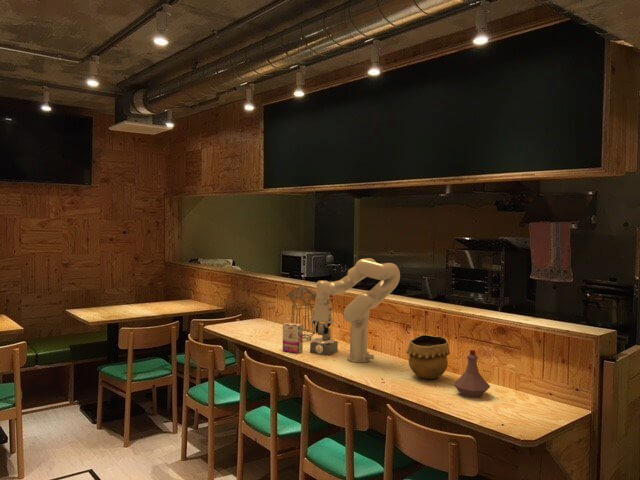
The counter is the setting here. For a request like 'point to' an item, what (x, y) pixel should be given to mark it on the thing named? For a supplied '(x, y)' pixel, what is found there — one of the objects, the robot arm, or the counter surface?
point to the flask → (472, 379)
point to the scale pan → (323, 341)
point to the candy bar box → (293, 338)
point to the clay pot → (428, 356)
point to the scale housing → (323, 348)
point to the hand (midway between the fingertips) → (321, 332)
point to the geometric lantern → (303, 308)
